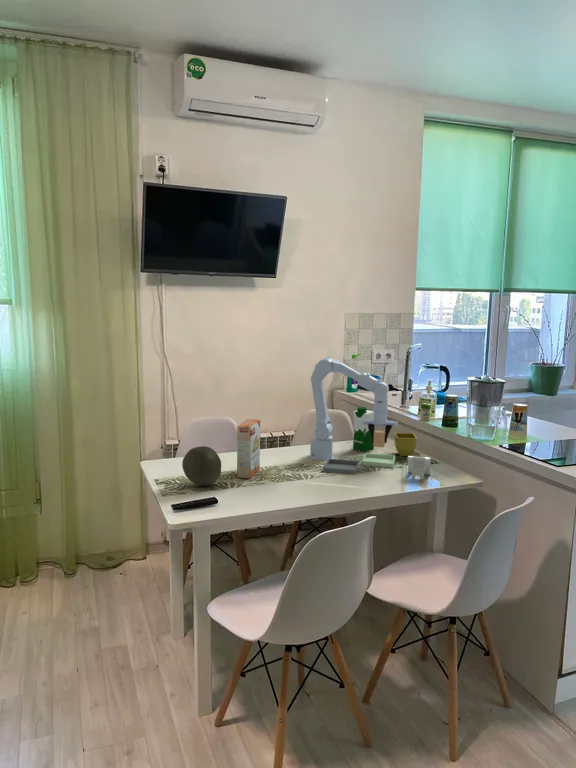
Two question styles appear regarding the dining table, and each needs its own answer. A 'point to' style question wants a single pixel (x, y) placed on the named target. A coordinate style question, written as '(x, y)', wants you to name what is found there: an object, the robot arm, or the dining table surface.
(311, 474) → the dining table surface
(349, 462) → the charcoal tray
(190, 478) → the dark olive ball
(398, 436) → the flower pot
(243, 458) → the cracker box
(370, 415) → the milk carton
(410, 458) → the portable electronic device stand
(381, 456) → the green tray
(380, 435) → the terracotta block
